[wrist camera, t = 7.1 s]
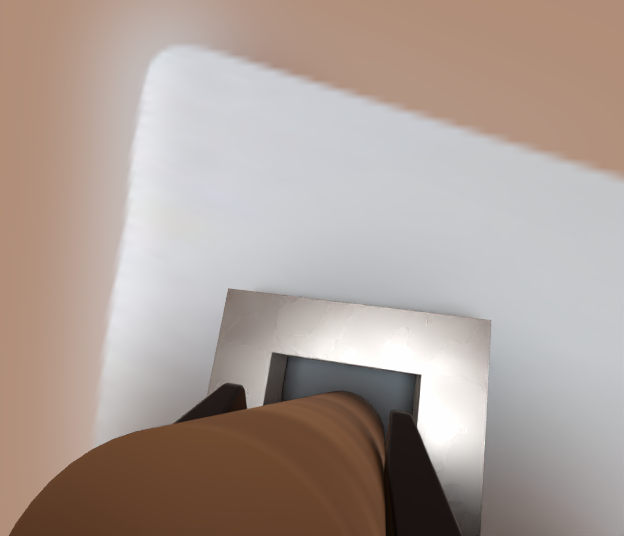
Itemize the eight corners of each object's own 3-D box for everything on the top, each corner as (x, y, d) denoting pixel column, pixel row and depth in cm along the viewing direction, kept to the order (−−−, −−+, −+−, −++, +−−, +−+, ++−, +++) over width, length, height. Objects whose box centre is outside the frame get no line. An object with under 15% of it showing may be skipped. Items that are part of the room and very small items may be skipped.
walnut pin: (379, 493, 15) (354, 1080, 2) (291, 475, 15) (-96, 863, 3) (389, 398, 16) (408, 468, 3) (304, 384, 16) (39, 396, 4)
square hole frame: (458, 600, 14) (474, 647, 12) (205, 538, 16) (173, 567, 13) (475, 328, 16) (491, 320, 14) (249, 300, 18) (228, 288, 15)
